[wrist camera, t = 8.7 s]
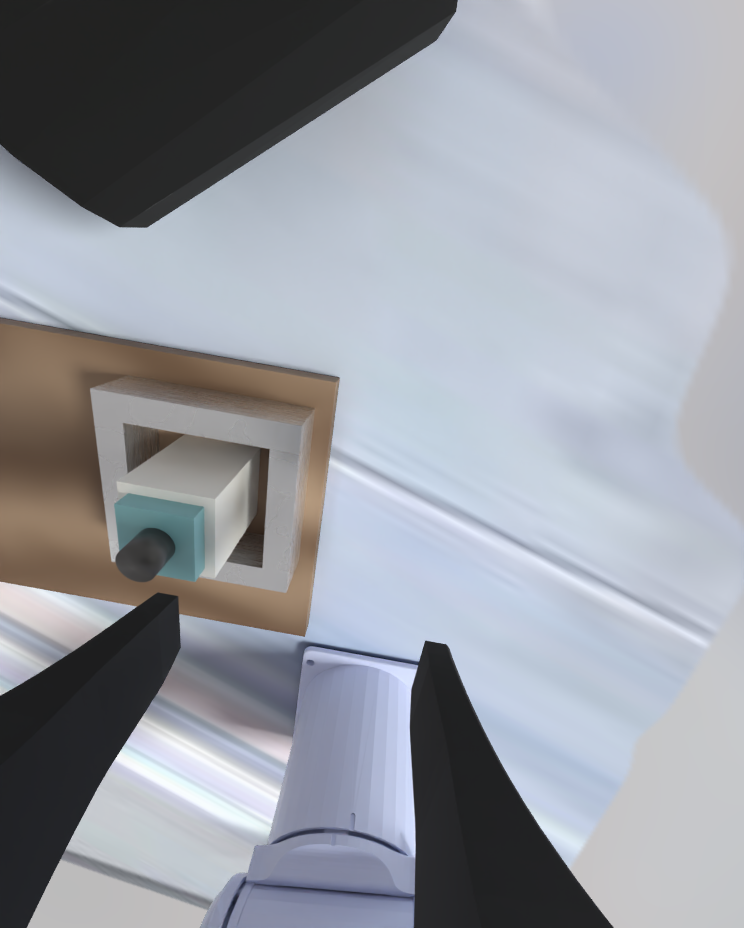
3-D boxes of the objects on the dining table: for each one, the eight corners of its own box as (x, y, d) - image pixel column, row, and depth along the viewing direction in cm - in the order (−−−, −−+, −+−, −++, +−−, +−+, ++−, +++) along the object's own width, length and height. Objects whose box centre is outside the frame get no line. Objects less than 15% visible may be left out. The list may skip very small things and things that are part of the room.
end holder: (298, 560, 22) (286, 593, 20) (142, 532, 22) (111, 561, 20) (314, 408, 18) (301, 426, 16) (129, 375, 18) (89, 388, 16)
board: (308, 623, 25) (304, 636, 24) (-18, 564, 25) (-34, 575, 24) (339, 377, 19) (336, 382, 18) (-93, 301, 19) (-118, 302, 18)
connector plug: (257, 513, 21) (190, 615, 14) (186, 500, 21) (89, 597, 15) (260, 447, 19) (188, 530, 13) (184, 434, 19) (75, 509, 13)
